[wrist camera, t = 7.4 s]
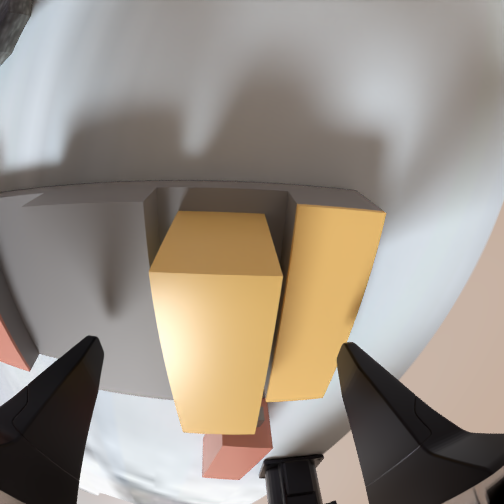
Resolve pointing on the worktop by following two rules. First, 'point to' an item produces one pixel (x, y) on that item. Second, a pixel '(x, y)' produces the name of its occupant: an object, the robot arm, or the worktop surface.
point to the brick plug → (237, 450)
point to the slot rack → (142, 256)
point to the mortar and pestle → (12, 24)
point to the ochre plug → (216, 316)
